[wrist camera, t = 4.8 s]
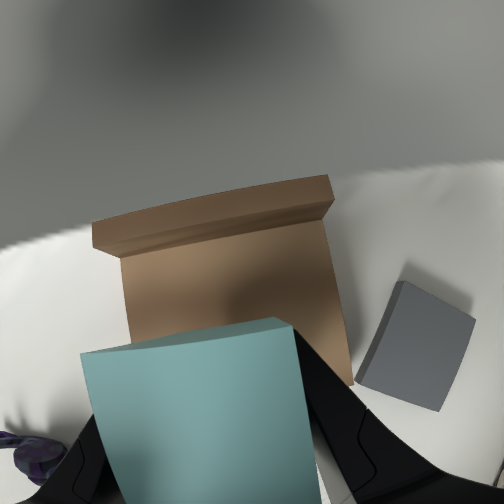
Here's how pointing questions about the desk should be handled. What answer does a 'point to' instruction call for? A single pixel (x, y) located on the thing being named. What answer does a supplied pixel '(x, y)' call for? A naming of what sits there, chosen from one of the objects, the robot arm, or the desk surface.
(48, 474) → the toy
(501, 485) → the decorative stone
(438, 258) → the desk surface
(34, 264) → the desk surface
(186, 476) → the teal block
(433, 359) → the gray block
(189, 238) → the tan piece
